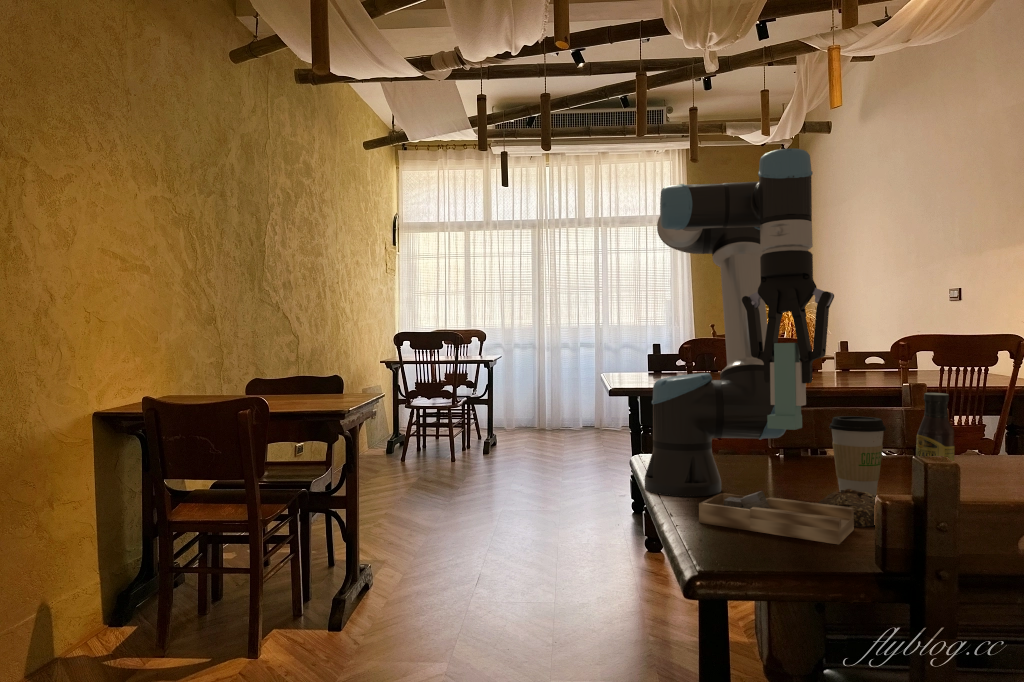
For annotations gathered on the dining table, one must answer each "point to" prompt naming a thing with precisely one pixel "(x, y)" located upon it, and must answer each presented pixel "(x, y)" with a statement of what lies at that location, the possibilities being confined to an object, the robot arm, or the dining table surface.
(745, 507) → the chip
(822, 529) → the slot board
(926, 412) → the sauce bottle
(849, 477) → the coffee cup
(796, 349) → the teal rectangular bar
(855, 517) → the bread roll
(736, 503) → the chip
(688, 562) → the dining table surface
